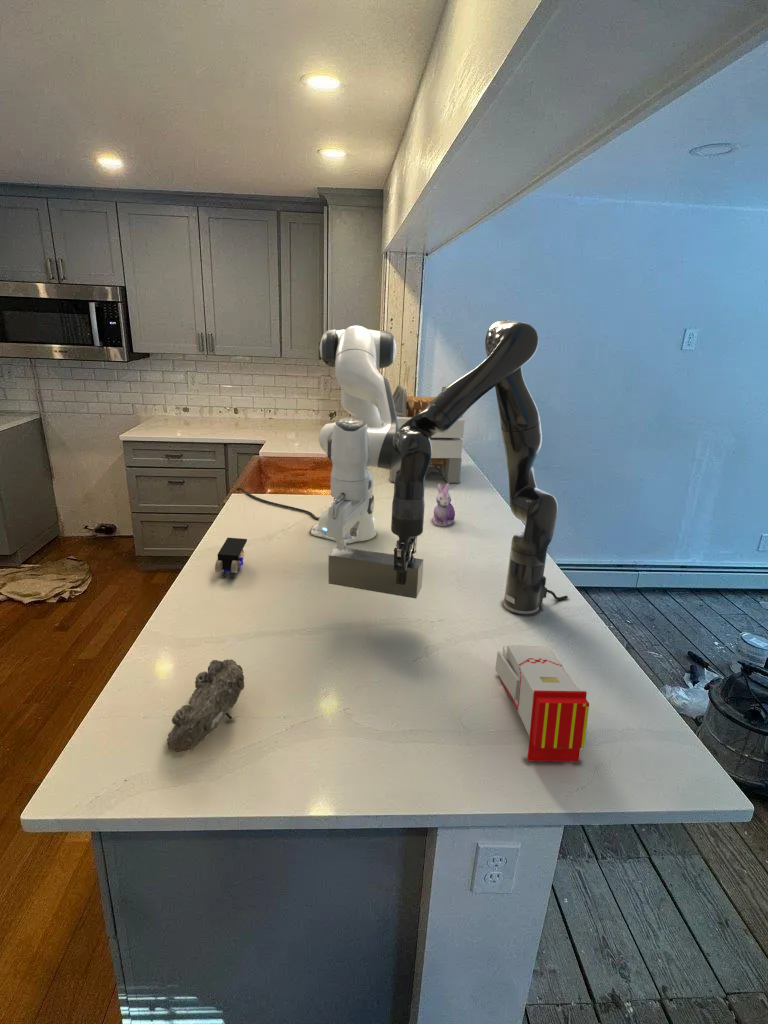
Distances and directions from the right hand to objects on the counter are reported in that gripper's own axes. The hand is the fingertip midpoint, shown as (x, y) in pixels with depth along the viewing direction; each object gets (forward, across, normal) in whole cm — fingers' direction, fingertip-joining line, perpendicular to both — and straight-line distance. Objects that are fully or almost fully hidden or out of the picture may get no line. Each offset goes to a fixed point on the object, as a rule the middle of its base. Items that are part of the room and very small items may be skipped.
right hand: (404, 578), depth 138 cm
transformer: (+13, +139, +26) cm, 142 cm away
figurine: (+13, +76, +3) cm, 78 cm away
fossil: (+13, -45, +26) cm, 53 cm away
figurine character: (+13, +13, +55) cm, 58 cm away
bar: (+3, 0, +7) cm, 8 cm away
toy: (+13, -23, -33) cm, 42 cm away
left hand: (-7, 0, +15) cm, 16 cm away
